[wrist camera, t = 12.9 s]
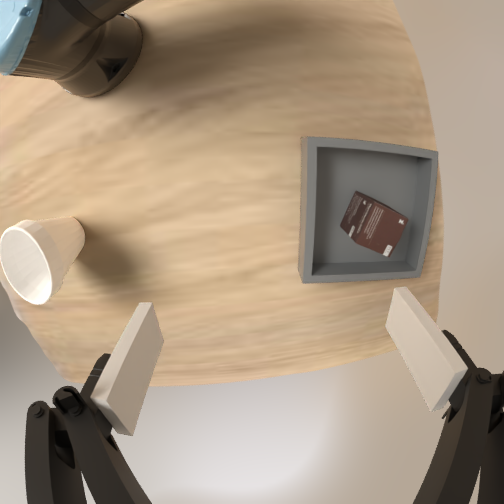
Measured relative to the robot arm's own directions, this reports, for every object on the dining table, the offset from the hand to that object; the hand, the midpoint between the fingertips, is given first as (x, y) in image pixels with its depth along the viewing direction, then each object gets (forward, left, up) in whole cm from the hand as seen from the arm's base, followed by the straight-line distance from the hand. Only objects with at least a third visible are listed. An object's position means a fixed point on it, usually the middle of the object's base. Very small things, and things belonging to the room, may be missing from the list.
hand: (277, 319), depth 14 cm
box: (+2, +15, -27) cm, 31 cm away
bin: (+1, +16, -27) cm, 31 cm away
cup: (+4, -34, -27) cm, 43 cm away
